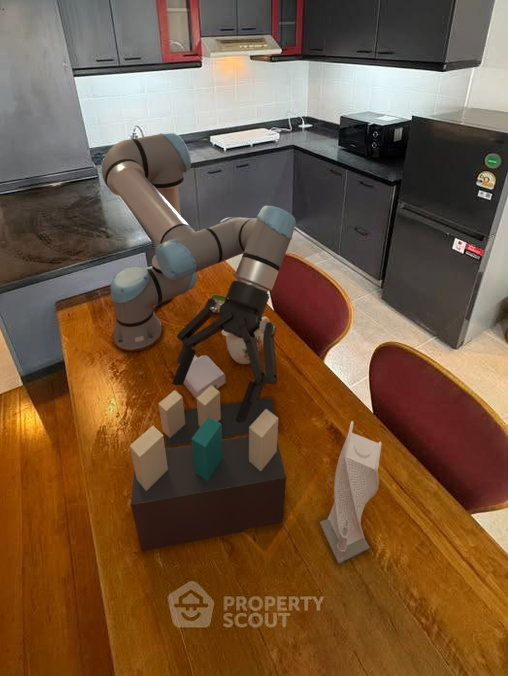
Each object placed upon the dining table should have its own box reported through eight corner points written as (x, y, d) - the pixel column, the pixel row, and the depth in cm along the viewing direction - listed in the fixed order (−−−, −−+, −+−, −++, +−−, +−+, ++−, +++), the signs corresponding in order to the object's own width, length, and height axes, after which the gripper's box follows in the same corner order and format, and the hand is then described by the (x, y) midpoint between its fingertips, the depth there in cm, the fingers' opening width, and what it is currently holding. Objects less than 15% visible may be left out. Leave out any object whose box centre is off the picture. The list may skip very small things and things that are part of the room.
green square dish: (235, 301, 140) (235, 297, 139) (228, 317, 132) (228, 313, 131) (212, 298, 142) (212, 293, 141) (205, 313, 134) (204, 309, 133)
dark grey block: (163, 414, 99) (159, 385, 94) (271, 399, 103) (272, 371, 99) (162, 448, 91) (157, 419, 86) (279, 430, 95) (280, 401, 91)
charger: (196, 353, 118) (225, 384, 107) (170, 368, 112) (198, 403, 102) (195, 341, 116) (225, 372, 105) (168, 357, 110) (197, 391, 100)
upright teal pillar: (194, 472, 71) (191, 438, 67) (210, 449, 75) (208, 416, 71) (207, 481, 70) (205, 447, 65) (223, 457, 74) (221, 424, 69)
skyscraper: (316, 515, 79) (329, 427, 66) (349, 500, 81) (367, 413, 69) (338, 564, 72) (357, 475, 59) (374, 546, 74) (399, 457, 62)
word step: (145, 499, 81) (128, 419, 70) (272, 477, 85) (276, 398, 74) (141, 551, 73) (122, 470, 62) (282, 524, 77) (288, 443, 66)
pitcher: (280, 351, 119) (282, 316, 113) (234, 381, 108) (234, 345, 102) (257, 331, 126) (258, 298, 120) (212, 358, 116) (211, 323, 110)
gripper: (318, 312, 68) (277, 435, 63) (207, 270, 80) (164, 371, 75) (309, 306, 62) (263, 441, 57) (189, 261, 74) (142, 370, 69)
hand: (207, 402), depth 66 cm, fingers open, 13 cm apart
